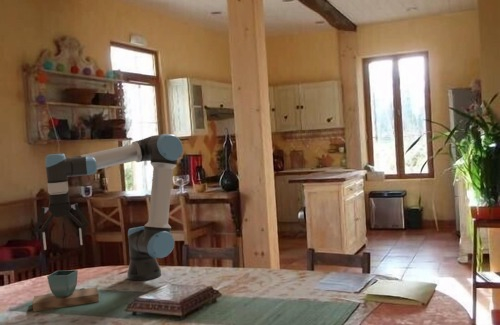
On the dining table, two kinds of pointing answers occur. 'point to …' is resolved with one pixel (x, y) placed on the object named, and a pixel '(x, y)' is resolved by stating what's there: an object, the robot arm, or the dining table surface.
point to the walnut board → (65, 299)
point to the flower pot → (63, 282)
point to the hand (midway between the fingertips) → (63, 247)
